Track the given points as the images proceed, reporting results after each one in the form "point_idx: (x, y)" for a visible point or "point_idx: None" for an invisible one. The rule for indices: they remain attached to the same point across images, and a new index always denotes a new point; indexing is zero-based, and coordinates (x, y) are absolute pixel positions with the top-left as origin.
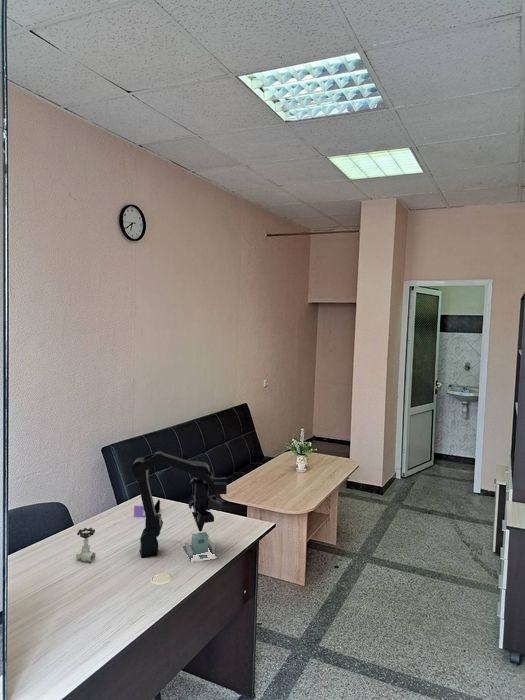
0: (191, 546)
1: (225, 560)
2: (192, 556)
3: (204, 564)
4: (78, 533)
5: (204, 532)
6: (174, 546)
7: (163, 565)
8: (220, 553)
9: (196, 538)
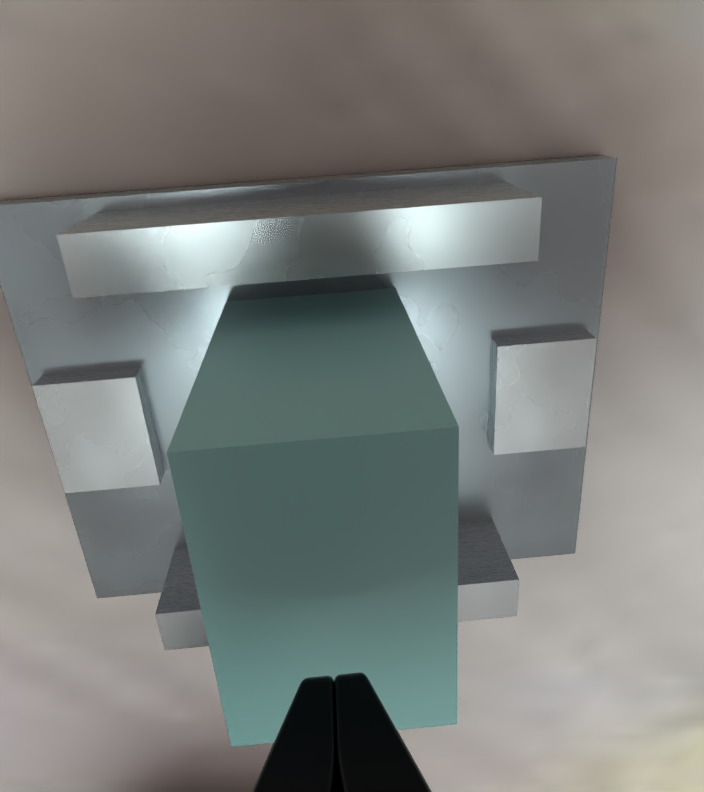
0: (128, 498)
1: (694, 8)
2: (501, 542)
3: (658, 380)
4: None
5: (191, 495)
6: (54, 660)
7: (490, 762)
8: (408, 38)
9: (451, 673)
